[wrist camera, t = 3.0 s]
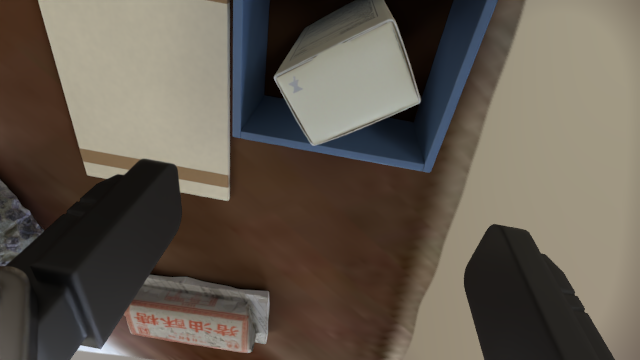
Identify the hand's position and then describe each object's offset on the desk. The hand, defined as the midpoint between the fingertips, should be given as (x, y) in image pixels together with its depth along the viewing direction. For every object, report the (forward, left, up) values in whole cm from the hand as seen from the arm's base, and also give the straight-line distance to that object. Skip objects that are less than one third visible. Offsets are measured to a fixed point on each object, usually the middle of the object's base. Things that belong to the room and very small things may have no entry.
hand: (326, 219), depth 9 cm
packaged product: (-13, -37, -22) cm, 45 cm away
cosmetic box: (0, 0, -22) cm, 22 cm away
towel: (-17, -7, -22) cm, 28 cm away
